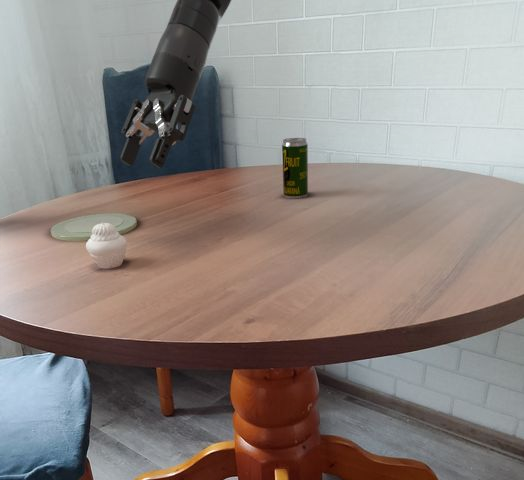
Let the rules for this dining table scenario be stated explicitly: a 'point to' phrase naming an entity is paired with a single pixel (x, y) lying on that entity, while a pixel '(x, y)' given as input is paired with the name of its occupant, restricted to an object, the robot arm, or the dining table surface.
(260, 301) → the dining table surface
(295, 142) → the green drink can
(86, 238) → the plate
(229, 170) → the dining table surface
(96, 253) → the muffin
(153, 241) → the dining table surface
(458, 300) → the dining table surface
